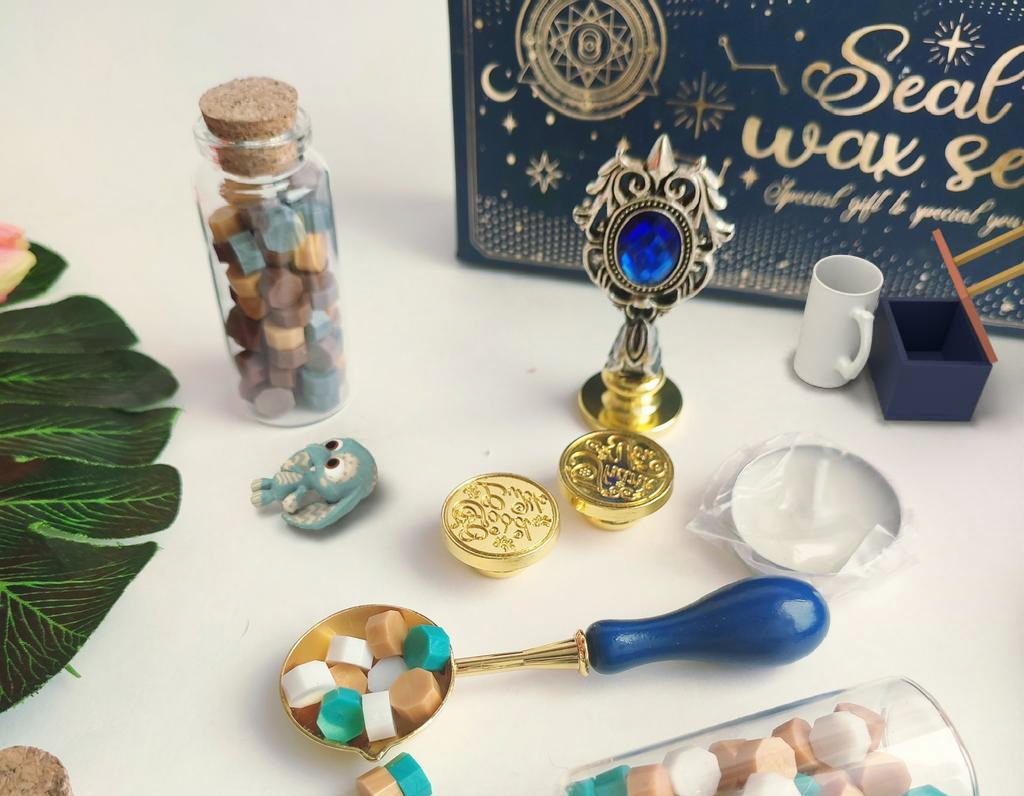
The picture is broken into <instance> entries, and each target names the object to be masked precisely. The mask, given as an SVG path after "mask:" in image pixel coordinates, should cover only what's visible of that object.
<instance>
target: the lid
mask: <svg viewBox="0 0 1024 796" xmlns="http://www.w3.org/2000/svg"><path fill="white" fill-rule="evenodd" d="M932 235H933V238H934V241H935V242H936V244H937V247H938V249H939V252H940V254H941V256H942V259H943V261H944V263H945V266H946V268H947V271H948V273H949V275H950V278H951V280H952V283H953V285H954V287H955V290H956V292H957V295H958V298H960V299H961V301H962V303H963V306H964V308H965V310H966V312H967V314H968V316H969V318H970V320H971V323H972V325H973V327H974V329H975V331H976V333H977V335H978V338H979V340H980V342H981V344H982V346H983V348H984V350H985V353H986V355H987V357H988V359H989V361H990V363H991V364H992V365H993V364H995V363H997V362H999V359H998V357H997V355H996V352H995V350H994V348H993V346H992V343H991V341H990V339H989V336H988V333H987V331H986V329H985V327H984V324H983V322H982V320H981V318H980V315H979V313H978V311H977V309H976V306H975V304H974V301H973V300H972V298H973V297H975V296H978V295H980V294H982V293H984V292H986V291H988V290H990V289H993V288H995V287H997V286H999V285H1002V284H1004V283H1006V282H1009V281H1011V280H1013V279H1015V278H1018V277H1019V276H1022V275H1024V261H1023V262H1021V263H1019V264H1017V265H1014V266H1013V267H1010V268H1008V269H1006V270H1004V271H1001V272H999V273H997V274H995V275H993V276H990V277H989V278H987V279H984V280H982V281H979V282H977V283H975V284H973V285H971V286H969V287H967V286H966V283H965V282H964V279H963V277H962V275H961V273H960V271H959V269H958V267H960V266H962V265H964V264H966V263H969V262H970V261H972V260H975V259H977V258H980V257H982V256H983V255H986V254H987V253H990V252H992V251H994V250H996V249H998V248H1000V247H1003V246H1005V245H1007V244H1010V243H1011V242H1013V241H1016V240H1017V239H1020V238H1022V237H1024V220H1022V223H1021V225H1020V226H1018V227H1015V228H1014V229H1011V230H1009V231H1007V232H1006V233H1003V234H1001V235H999V236H997V237H995V238H993V239H991V240H988V241H986V242H984V243H982V244H980V245H978V246H976V247H973V248H971V249H969V250H967V251H965V252H963V253H960V254H959V255H956V256H954V257H953V255H952V253H951V251H950V249H949V247H948V245H947V243H946V240H945V238H944V235H943V234H942V232H941V229H940V228H937V229H936V230H933V231H932Z"/></svg>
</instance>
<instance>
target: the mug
mask: <svg viewBox="0 0 1024 796" xmlns="http://www.w3.org/2000/svg"><path fill="white" fill-rule="evenodd" d="M884 279H885V278H884V274H883V273H882V270H880V268H879V267H877V266H876V265H875V264H874V263H872V262H871V261H869V260H867V259H864V258H861V257H859V256H854V255H848V254H834V255H829V256H825V257H823V258H821V259H820V260H818V261H817V262H816V263H815V264H814V266H813V270H812V276H811V280H810V284H809V288H808V293H807V298H806V303H805V306H804V312H803V316H802V321H801V326H800V330H799V336H798V340H797V344H796V350H795V355H794V360H793V371H794V372H795V374H796V375H797V376H798V378H800V379H801V380H802V381H803V382H805V383H806V384H809V385H811V386H814V387H818V388H825V389H835V388H839V387H842V386H844V385H846V384H847V383H849V382H850V381H851V380H855V379H856V378H857V377H858V376H859V374H860V372H862V370H863V368H864V367H865V365H866V364H867V359H868V356H869V353H870V348H871V342H872V332H873V320H874V316H875V315H874V314H875V311H876V308H877V305H878V302H879V299H880V294H881V290H882V286H883V284H884Z"/></svg>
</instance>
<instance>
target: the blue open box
mask: <svg viewBox="0 0 1024 796" xmlns="http://www.w3.org/2000/svg"><path fill="white" fill-rule="evenodd" d="M873 316H874V320H873V332H872V342H871V348H870V353H869V356H868V359H867V361H866V364H867V367H868V370H869V374H870V377H871V380H872V383H873V386H874V390H875V393H876V396H877V399H878V403H879V406H880V410H881V413H882V416H883V419H884V420H885V421H929V422H931V421H932V422H934V421H935V422H971V421H972V419H973V415H974V412H975V410H976V408H977V406H978V404H979V401H980V398H981V396H982V393H983V391H984V389H985V386H986V384H987V381H988V379H989V377H990V374H991V372H992V370H993V366H994V365H993V363H992V364H991V363H990V361H989V359H988V357H987V355H986V353H985V350H984V348H983V346H982V344H981V342H980V340H979V338H978V335H977V333H976V331H975V329H974V327H973V325H972V323H971V320H970V318H969V316H968V314H967V312H966V310H965V308H964V306H963V303H962V301H961V299H960V297H926V296H923V297H922V296H879V298H878V302H877V305H876V308H875V312H874V315H873Z"/></svg>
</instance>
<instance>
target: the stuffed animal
mask: <svg viewBox="0 0 1024 796" xmlns="http://www.w3.org/2000/svg"><path fill="white" fill-rule="evenodd" d="M378 476H379V474H378V465H377V462H376V460H375V458H374V456H373V454H371V452H370V450H369V449H367V448H366V447H365V446H363V444H361V443H360V442H358V441H357V440H355V439H354V438H352V437H346V438H345V437H344V438H343V437H333V438H330V439H327V440H325V441H324V442H321V443H317V442H314V443H309V444H307V445H306V447H305V448H303V449H301V450H300V449H299V450H298V451H296V452H295V453H293V454H292V455H291V456H290V457H289V458H288V459H286V460H285V461H284V462H283V463H282V464H281V466H280V471H279V472H276V473H275V474H274V475H273V477H272V478H270V477H269V478H268V477H259V478H256V479H253V480H252V481H251V484H250V489H251V492H252V493H251V496H250V503H251V505H252V506H253V507H254V508H255V509H260V508H264V507H267V506H269V505H270V504H271V503H273V502H274V501H276V500H277V501H280V502H282V506H283V509H284V510H285V511H286V512H283V513H282V514H281V515H280V517H281V518H282V520H283V521H284V522H285V523H287V524H289V525H291V526H294V527H297V528H300V529H303V530H304V529H305V530H317V531H318V530H321V529H323V528H326V527H328V526H330V525H334V524H335V523H336V522H337V521H338V520H340V519H341V518H343V517H344V516H345V515H347V514H348V513H349V512H351V511H352V510H353V509H354V508H355V507H356V506H357V505H358V504H359V503H360V502H361V500H364V499H366V498H368V497H369V496H370V495H371V493H372V492H373V490H374V489H375V487H376V484H377V481H378ZM310 490H314V491H315V492H316V493H318V494H319V495H320V496H321V497H323V499H324V500H326V501H327V502H323V501H317V502H313V503H311V504H306V505H305V506H304V505H303V506H301V507H300V505H301V503H302V501H303V499H304V497H305V495H306V494H307V492H308V491H310Z"/></svg>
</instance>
